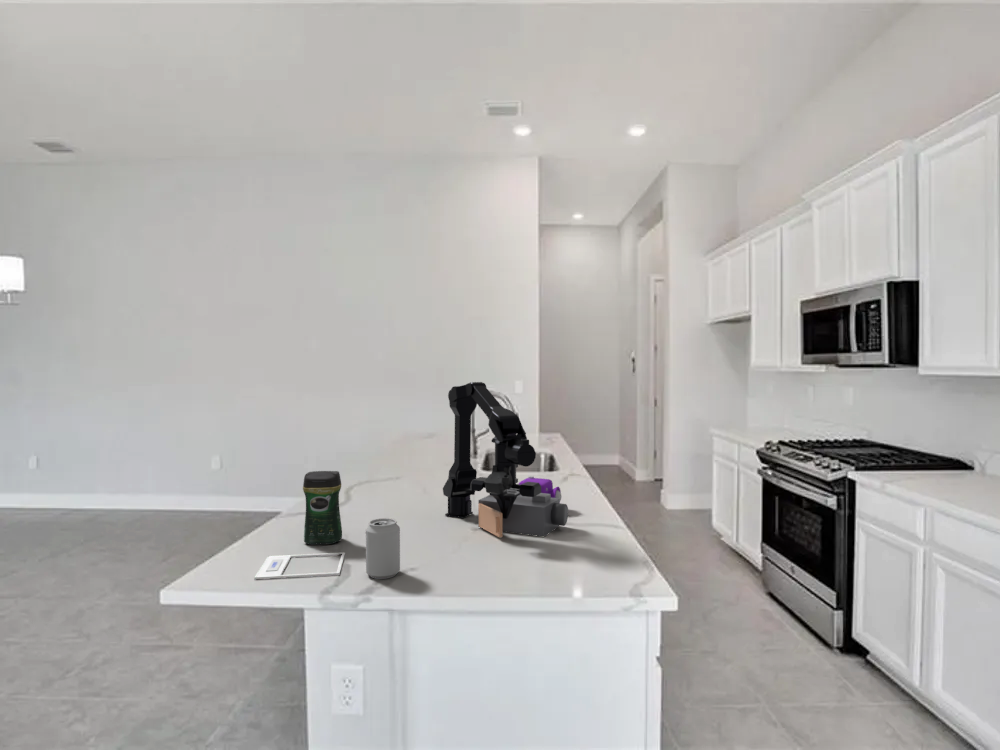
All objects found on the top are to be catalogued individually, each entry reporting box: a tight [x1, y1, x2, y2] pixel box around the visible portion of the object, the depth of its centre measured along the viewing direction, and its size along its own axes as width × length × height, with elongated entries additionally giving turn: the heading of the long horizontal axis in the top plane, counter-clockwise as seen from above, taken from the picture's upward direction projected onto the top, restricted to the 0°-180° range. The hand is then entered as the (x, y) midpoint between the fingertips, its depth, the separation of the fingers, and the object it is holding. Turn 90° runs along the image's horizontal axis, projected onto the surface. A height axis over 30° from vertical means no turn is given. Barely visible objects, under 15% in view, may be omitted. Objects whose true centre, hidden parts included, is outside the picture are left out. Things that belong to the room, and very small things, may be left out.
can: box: [365, 517, 401, 580], centre depth 137 cm, size 8×8×12 cm
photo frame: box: [253, 552, 346, 581], centre depth 142 cm, size 15×1×18 cm
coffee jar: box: [302, 470, 343, 546], centre depth 161 cm, size 10×8×19 cm
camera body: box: [477, 493, 569, 537], centre depth 174 cm, size 23×12×10 cm, turn 64°
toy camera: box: [518, 475, 562, 502], centre depth 194 cm, size 11×14×10 cm
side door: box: [479, 503, 503, 538], centre depth 167 cm, size 12×2×6 cm, turn 29°
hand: (505, 518), depth 165 cm, fingers closed
